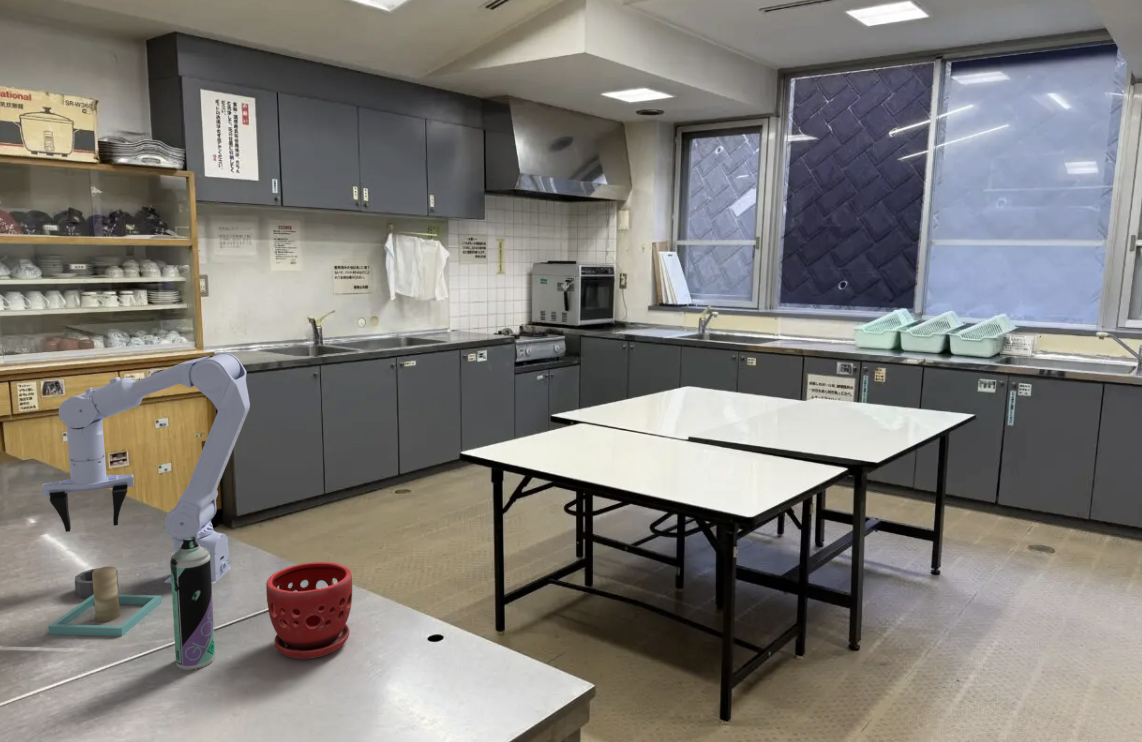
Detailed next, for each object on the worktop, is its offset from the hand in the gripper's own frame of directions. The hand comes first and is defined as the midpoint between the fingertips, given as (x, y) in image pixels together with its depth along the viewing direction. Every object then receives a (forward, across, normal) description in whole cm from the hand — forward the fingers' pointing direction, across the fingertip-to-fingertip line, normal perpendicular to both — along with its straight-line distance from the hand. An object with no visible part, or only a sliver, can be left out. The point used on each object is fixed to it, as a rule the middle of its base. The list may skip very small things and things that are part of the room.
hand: (92, 526), depth 145 cm
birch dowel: (+10, -2, +20) cm, 22 cm away
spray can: (+11, -15, +41) cm, 45 cm away
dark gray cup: (+10, 0, +7) cm, 13 cm away
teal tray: (+10, -2, +20) cm, 23 cm away
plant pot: (+11, -31, +44) cm, 55 cm away
